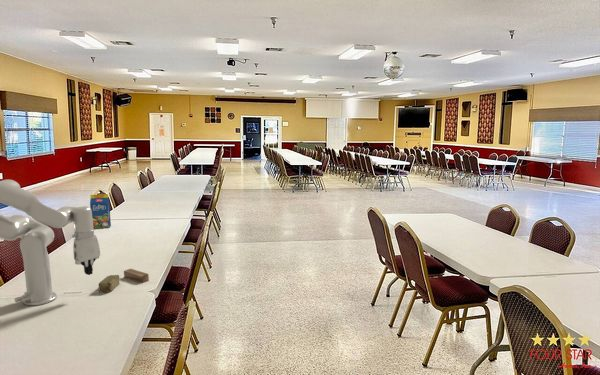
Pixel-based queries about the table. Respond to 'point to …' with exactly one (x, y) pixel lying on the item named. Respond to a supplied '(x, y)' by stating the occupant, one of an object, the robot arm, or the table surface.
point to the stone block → (109, 283)
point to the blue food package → (100, 211)
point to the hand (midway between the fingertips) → (88, 273)
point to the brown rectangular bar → (136, 275)
